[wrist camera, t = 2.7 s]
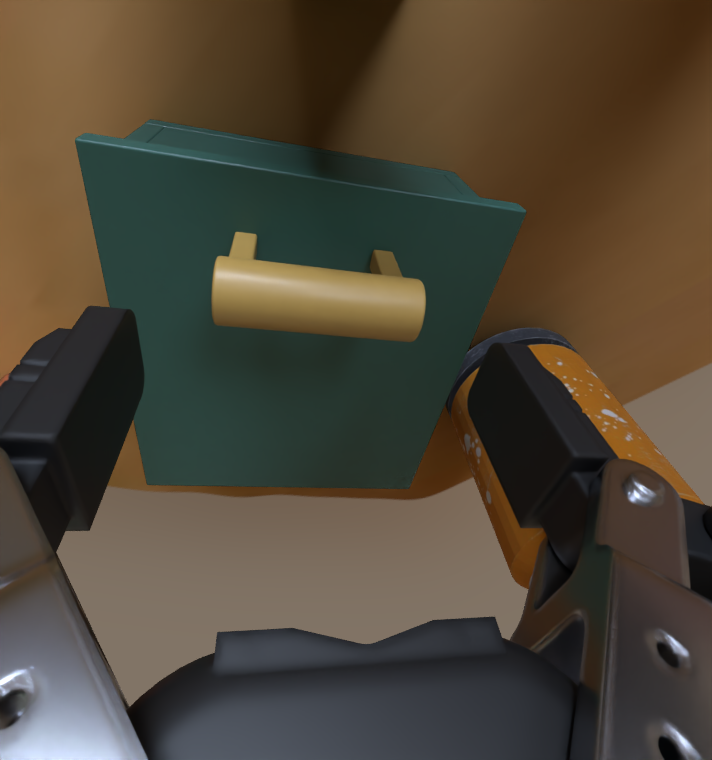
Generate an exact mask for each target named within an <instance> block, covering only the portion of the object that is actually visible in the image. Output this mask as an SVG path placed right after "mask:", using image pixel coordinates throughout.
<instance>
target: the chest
mask: <svg viewBox="0 0 712 760" xmlns="http://www.w3.org/2000/svg"><path fill="white" fill-rule="evenodd" d="M124 139H127V140H133V141H139V142H145V143H151V144H157V145H163V146H169V147H175V148H182V149H188V150H194V151H200V152H206V153H212V154H218V155H224V156H230V157H237V158H243V159H249V160H255V161H261V162H267V163H273V164H279V165H285V166H291V167H298V168H304V169H310V170H316V171H322V172H328V173H334V174H340V175H346V176H353V177H359V178H365V179H371V180H377V181H383V182H389V183H395V184H401V185H407V186H414V187H420V188H426V189H432V190H438V191H444V192H450V193H456V194H462V195H469V196H475V197H479V196H478V195H477V194H476V193H475V192H474V191H473V190H472V189H471V188H470V187H469V186H468V185H467V184H466V183H465V182H464V181H463V180H462V179H460V178H459V176H458V175H457V174H456V173H454V172H450V171H444V170H438V169H433V168H427V167H421V166H415V165H410V164H404V163H398V162H392V161H387V160H381V159H375V158H369V157H364V156H358V155H352V154H347V153H341V152H335V151H329V150H324V149H318V148H312V147H306V146H301V145H295V144H289V143H283V142H278V141H272V140H266V139H260V138H255V137H249V136H243V135H237V134H232V133H226V132H220V131H215V130H209V129H203V128H197V127H192V126H186V125H180V124H174V123H169V122H163V121H157V120H151V119H150V120H148V121H147V122H145V124H143V125H142V126H141V127H139V128H138V129H137V130H135V131H134V132H133V133H131V134H130V135H129V136H127V137H126V138H124Z"/></svg>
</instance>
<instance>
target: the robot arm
mask: <svg viewBox="0 0 712 760" xmlns="http://www.w3.org/2000/svg"><path fill="white" fill-rule="evenodd" d="M143 389H144V365H143V359H142V353H141V347H140V341H139V335H138V329H137V323H136V318H135V314H134V312H133V311H132V310H131V309H122V308H111V307H100V306H89V307H87V308H86V309H85V311H84V312H83V314H82V315H81V317H80V318H79V319H78V321H77V322H76V324H75V325H74V327H73V328H72V329H63V328H58V329H56V330H55V331H53V332H51V333H50V334H48V335H46V336H45V337H43V338H41V339H40V340H38V341H36V342H35V343H34V344H33V345H32V346H31V348H30V349H29V350H28V352H27V353H26V354H25V355H24V357H23V358H22V359H21V360H20V365H17V366H16V367H15V368H14V369H13V371H12V372H11V373H10V374H9V376H8V380H5V381H4V382H3V383H2V385H1V386H0V760H712V507H710V506H707V505H704V504H700V503H697V502H693V501H690V500H686V499H683V498H680V496H679V495H678V493H677V491H676V490H675V489H674V488H673V486H672V485H671V484H670V483H669V482H668V481H667V480H665V479H664V478H663V477H662V476H661V475H659V474H658V473H657V472H655V471H654V470H652V469H650V468H649V467H647V466H645V465H643V464H640V463H638V462H635V461H632V460H628V459H619V457H618V456H617V455H616V453H615V452H614V451H613V449H612V448H611V447H610V445H609V444H608V443H607V441H606V440H605V439H604V437H603V436H602V435H601V433H600V432H599V431H598V429H597V428H596V427H595V425H594V424H593V423H592V421H591V420H590V419H589V417H588V416H587V415H586V413H583V412H582V410H583V409H582V408H581V407H580V405H579V404H578V403H577V401H576V400H573V396H572V394H571V393H570V392H569V390H568V389H567V388H566V386H565V385H564V384H563V382H562V381H561V380H560V379H558V378H557V377H556V376H555V375H553V374H552V373H551V372H550V371H548V370H547V369H546V368H545V367H543V366H542V364H541V363H540V362H539V360H538V359H537V358H536V356H535V355H534V353H533V352H532V351H531V349H530V348H529V347H528V346H526V345H521V344H510V343H498V342H496V343H493V344H492V345H491V346H490V347H489V349H488V351H487V353H486V355H485V357H484V359H483V361H482V364H481V366H480V368H479V370H478V372H477V375H476V377H475V379H474V381H473V383H472V386H471V388H470V390H469V393H468V399H467V407H468V412H469V415H470V418H471V420H472V422H473V424H474V427H475V429H476V431H477V433H478V435H479V438H480V440H481V442H482V444H483V446H484V449H485V451H486V453H487V455H488V457H489V460H490V462H491V464H492V466H493V468H494V471H495V473H496V475H497V477H498V480H499V482H500V484H501V486H502V488H503V491H504V493H505V495H506V497H507V499H508V502H509V504H510V506H511V508H512V510H513V513H514V515H515V517H516V519H517V521H518V524H519V526H520V528H543V529H544V531H545V533H546V537H545V538H544V539H543V540H542V541H541V543H540V546H539V549H538V553H537V557H536V561H535V566H534V570H533V574H532V578H531V582H530V586H529V590H528V594H527V598H526V602H525V606H524V610H523V614H522V617H521V620H520V622H519V624H518V627H517V628H516V630H515V632H514V633H513V635H512V637H511V639H510V641H509V640H507V639H504V638H502V637H501V633H500V630H499V628H498V625H497V622H496V619H495V617H480V618H463V619H445V620H432V621H430V622H427V623H425V624H422V625H420V626H417V627H414V628H412V629H409V630H407V631H404V632H402V633H399V634H397V635H394V636H391V637H389V638H386V639H384V640H381V641H378V642H376V643H373V644H360V643H355V642H351V641H347V640H342V639H338V638H334V637H329V636H325V635H320V634H316V633H312V632H308V631H303V630H298V629H295V628H285V629H267V630H250V631H232V632H218V633H217V639H216V647H215V653H213V654H210V655H207V656H205V657H202V658H199V659H197V660H195V661H193V662H191V663H189V664H187V665H185V666H183V667H181V668H179V669H178V670H176V671H175V672H173V673H171V674H170V675H168V676H167V677H165V678H164V679H162V680H161V681H159V682H158V683H157V684H155V685H154V686H153V687H152V688H151V689H149V690H148V691H147V692H146V693H145V694H143V695H142V696H141V697H140V698H139V699H138V700H136V701H135V702H134V704H133V705H131V706H130V707H129V705H128V703H127V701H126V699H125V697H124V694H123V692H122V690H121V688H120V686H119V684H118V682H117V680H116V678H115V675H114V673H113V671H112V669H111V667H110V665H109V663H108V661H107V659H106V657H105V655H104V653H103V651H102V649H101V647H100V644H99V642H98V641H97V638H96V636H95V634H94V632H93V630H92V627H91V625H90V623H89V621H88V619H87V617H86V615H85V613H84V611H83V608H82V606H81V604H80V602H79V600H78V598H77V596H76V593H75V591H74V589H73V587H72V585H71V583H70V581H69V579H68V576H67V574H66V572H65V570H64V568H63V566H62V564H61V562H60V560H59V558H58V555H57V553H56V551H57V549H58V547H59V545H60V542H61V540H62V537H63V535H64V533H65V531H89V530H90V528H91V525H92V523H93V520H94V518H95V515H96V513H97V510H98V508H99V505H100V502H101V500H102V497H103V495H104V492H105V489H106V487H107V484H108V482H109V479H110V477H111V474H112V472H113V469H114V467H115V464H116V461H117V459H118V456H119V454H120V451H121V449H122V446H123V443H124V441H125V438H126V436H127V433H128V431H129V428H130V425H131V423H132V420H133V418H134V415H135V413H136V410H137V408H138V405H139V402H140V400H141V397H142V394H143Z"/></svg>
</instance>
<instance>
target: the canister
mask: <svg viewBox="0 0 712 760" xmlns="http://www.w3.org/2000/svg"><path fill="white" fill-rule="evenodd" d="M496 342H498V343H510V344H521V345H526V346H528V347H529V348H530V349H531V351H532V352H533V353H534V355H535V356H536V358H537V359H538V360H539V362H540V363H541V364H542V366H543V367H545V368H546V369H547V370H548V371H550V372H551V373H552V374H553V375H555V376H556V377H557V378H558V379H560V380H561V381H562V382H563V384H564V385H565V386H566V388H567V389H568V390H569V392H570V393H571V394H572V396H573V400H576V401H577V403H578V404H579V405H580V407H581V408H582V409H583V410H582V412H583V413H586V415H587V416H588V417H589V419H590V420H591V421H592V423H593V424H594V425H595V427H596V428H597V429H598V431H599V432H600V433H601V435H602V436H603V437H604V439H605V440H606V441H607V443H608V444H609V445H610V447H611V448H612V449H613V451H614V452H615V453H616V455H617V456H618V457H619V459H628V460H632V461H635V462H638V463H640V464H643V465H645V466H647V467H649V468H650V469H652V470H654V471H655V472H657V473H658V474H659V475H661V476H662V477H663V478H664V479H665V480H667V481H668V482H669V483H670V484H671V485H672V486H673V488H674V489H675V490H676V491H677V493H678V495H679V496H680V498H683V499H686V500H690V501H693V502H697V503H700V504H704V503H703V502H702V501H701V500H700V498H699V497H698V496H697V495H696V494H695V492H694V491H693V490H692V489H691V488H690V487H689V485H688V484H687V483H686V482H685V480H684V479H683V478H682V477H681V476H680V475H679V474H678V472H677V471H676V470H675V469H674V467H673V466H672V465H671V464H670V463H669V462H668V460H667V459H666V458H665V457H664V455H663V454H662V453H661V452H660V451H659V450H658V448H657V447H656V446H655V445H654V443H653V442H652V441H651V440H650V439H649V437H648V436H647V435H646V434H645V433H644V432H643V430H642V429H641V428H640V427H639V426H638V424H637V423H636V422H635V421H634V420H633V418H632V417H631V416H630V415H629V414H628V413H627V411H626V410H625V409H624V408H623V406H622V405H621V404H620V403H619V402H618V400H617V399H616V398H615V397H614V396H613V394H612V393H611V392H610V391H609V390H608V389H607V387H606V386H605V385H604V384H603V383H602V381H601V380H600V379H599V378H598V377H597V375H596V374H595V373H594V372H593V371H592V369H591V368H590V367H589V366H588V365H587V363H586V362H585V361H584V360H583V359H582V358H581V357H580V355H579V354H578V353H577V351H576V350H575V349H574V348H573V347H572V346H571V344H570V343H569V342H568V341H567V340H566V339H565V338H564V337H562V336H561V335H560V334H558V333H555V332H553V331H551V330H547V329H542V328H519V329H515V330H510V331H506V332H503V333H500V334H497V335H495V336H493V337H491V338H488V339H486V340H484V341H483V342H481V343H480V344H478V345H476V346H475V347H474V348H472V349H471V350H470V351H468V352H467V354H466V356H465V358H464V361H463V363H462V365H461V368H460V370H459V372H458V375H457V377H456V380H455V382H454V384H453V387H452V389H451V391H450V394H449V396H448V398H447V401H446V403H445V404H446V407H447V410H448V412H449V415H450V417H451V419H452V422H453V425H454V428H455V430H456V433H457V435H458V438H459V441H460V443H461V446H462V448H463V451H464V454H465V456H466V459H467V461H468V464H469V466H470V469H471V472H472V474H473V477H474V479H475V482H476V484H477V487H478V490H479V492H480V494H481V497H482V500H483V502H484V505H485V508H486V510H487V513H488V515H489V518H490V521H491V523H492V526H493V528H494V530H495V533H496V536H497V539H498V541H499V544H500V546H501V549H502V551H503V554H504V557H505V559H506V562H507V564H508V567H509V569H510V572H511V575H512V577H513V578H514V580H515V581H516V582H517V583H518V584H519V585H521V586H523V587H525V588H527V589H529V586H530V582H531V578H532V574H533V570H534V566H535V561H536V557H537V553H538V549H539V546H540V543H541V541H542V540H543V539H544V538H545V537H546V533H545V531H544V529H543V528H520V526H519V524H518V521H517V519H516V517H515V515H514V513H513V510H512V508H511V506H510V504H509V502H508V499H507V497H506V495H505V493H504V491H503V488H502V486H501V484H500V482H499V480H498V477H497V475H496V473H495V471H494V468H493V466H492V464H491V462H490V460H489V457H488V455H487V453H486V451H485V449H484V446H483V444H482V442H481V440H480V438H479V435H478V433H477V431H476V429H475V427H474V424H473V422H472V420H471V418H470V415H469V412H468V407H467V399H468V393H469V390H470V388H471V386H472V383H473V381H474V379H475V377H476V375H477V372H478V370H479V368H480V366H481V364H482V361H483V359H484V357H485V355H486V353H487V351H488V349H489V347H490V346H491V345H492V344H493V343H496ZM704 505H705V504H704Z"/></svg>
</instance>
